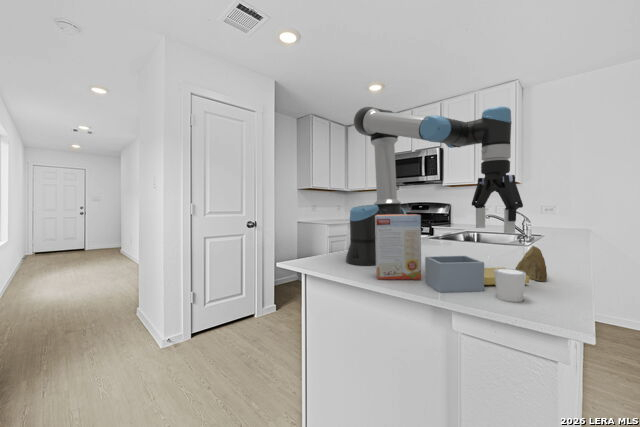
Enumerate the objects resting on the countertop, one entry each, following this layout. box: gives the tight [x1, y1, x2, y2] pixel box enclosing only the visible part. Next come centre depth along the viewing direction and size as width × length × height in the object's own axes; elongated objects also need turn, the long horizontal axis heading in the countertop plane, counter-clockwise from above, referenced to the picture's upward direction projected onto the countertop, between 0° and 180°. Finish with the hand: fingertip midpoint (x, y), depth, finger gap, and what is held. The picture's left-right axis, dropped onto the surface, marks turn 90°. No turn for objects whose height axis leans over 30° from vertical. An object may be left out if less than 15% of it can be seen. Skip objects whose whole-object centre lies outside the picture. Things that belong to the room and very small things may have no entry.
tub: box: [424, 255, 485, 293], centre depth 84 cm, size 10×13×8 cm
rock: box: [514, 245, 548, 282], centre depth 92 cm, size 11×9×10 cm
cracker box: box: [375, 213, 422, 281], centre depth 94 cm, size 14×6×21 cm, turn 84°
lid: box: [484, 267, 530, 286], centre depth 89 cm, size 11×14×3 cm
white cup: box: [494, 268, 526, 303], centre depth 74 cm, size 7×7×7 cm
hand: (493, 230), depth 88 cm, fingers open, 13 cm apart
